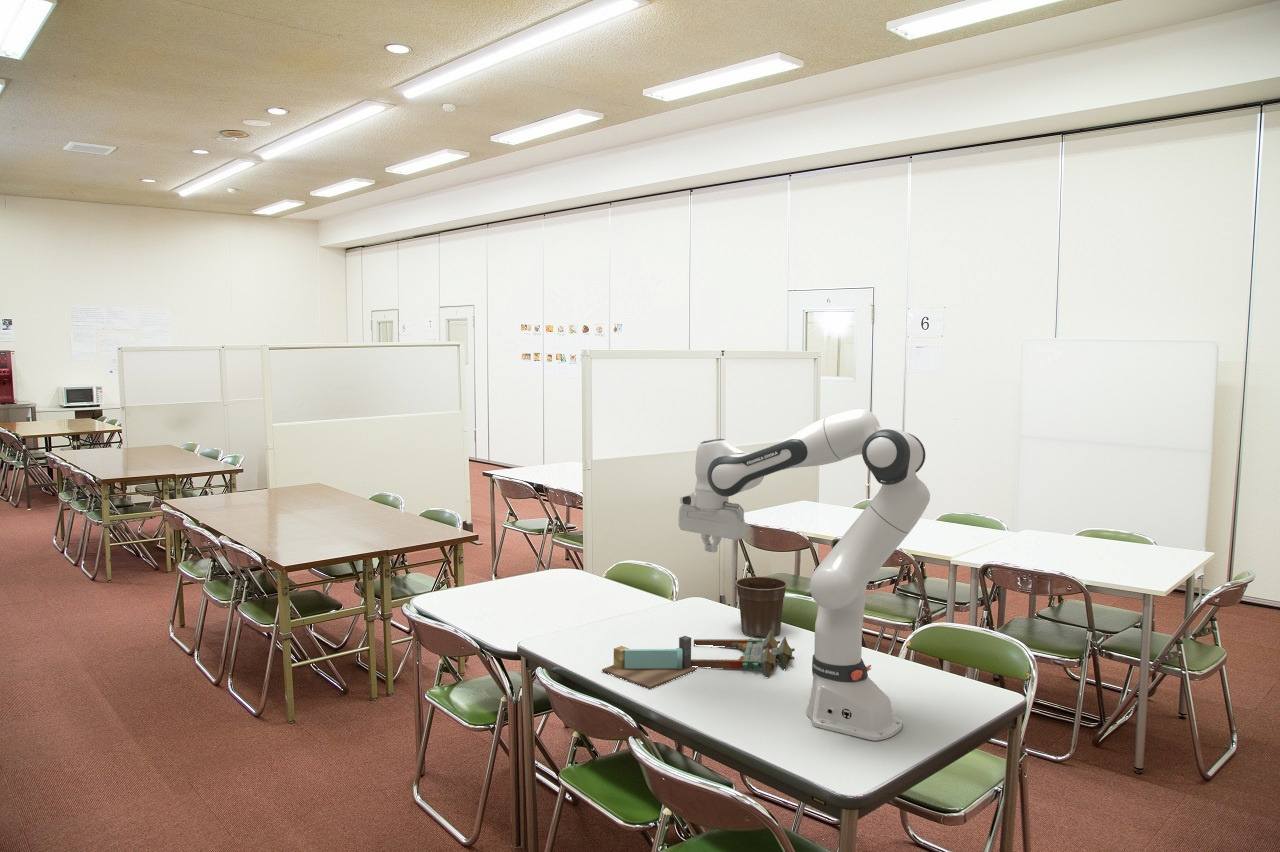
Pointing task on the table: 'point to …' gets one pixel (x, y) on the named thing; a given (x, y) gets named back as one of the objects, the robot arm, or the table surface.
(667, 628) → the table surface
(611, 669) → the gate frame
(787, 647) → the miniature gate
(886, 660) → the table surface
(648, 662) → the gate
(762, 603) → the plant pot
